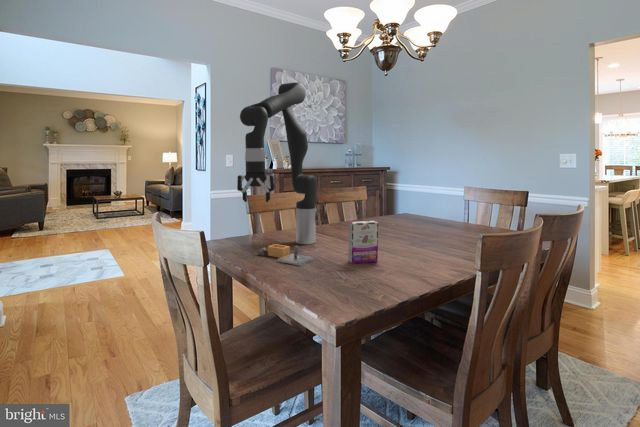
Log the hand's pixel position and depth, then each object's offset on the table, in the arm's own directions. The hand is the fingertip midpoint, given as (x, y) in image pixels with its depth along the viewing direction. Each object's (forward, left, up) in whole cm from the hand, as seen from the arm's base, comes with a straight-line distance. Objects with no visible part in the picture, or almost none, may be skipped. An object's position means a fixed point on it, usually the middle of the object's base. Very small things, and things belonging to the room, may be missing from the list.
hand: (256, 201), depth 146 cm
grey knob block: (-9, -4, -24) cm, 26 cm away
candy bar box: (-22, +36, -24) cm, 49 cm away
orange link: (-11, +2, -24) cm, 27 cm away
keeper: (-8, +13, -24) cm, 29 cm away
